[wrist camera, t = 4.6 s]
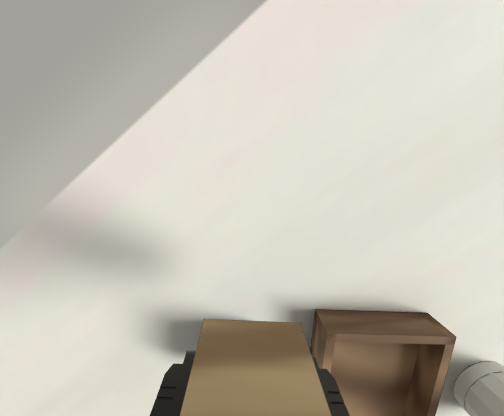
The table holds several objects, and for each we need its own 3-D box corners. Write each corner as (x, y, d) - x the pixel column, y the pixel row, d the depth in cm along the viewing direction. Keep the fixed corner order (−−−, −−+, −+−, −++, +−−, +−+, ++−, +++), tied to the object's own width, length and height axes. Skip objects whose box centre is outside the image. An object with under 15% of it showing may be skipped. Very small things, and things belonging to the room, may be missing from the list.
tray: (315, 309, 23) (327, 333, 20) (427, 313, 24) (456, 336, 21) (299, 433, 26) (307, 471, 23) (398, 433, 27) (420, 470, 24)
